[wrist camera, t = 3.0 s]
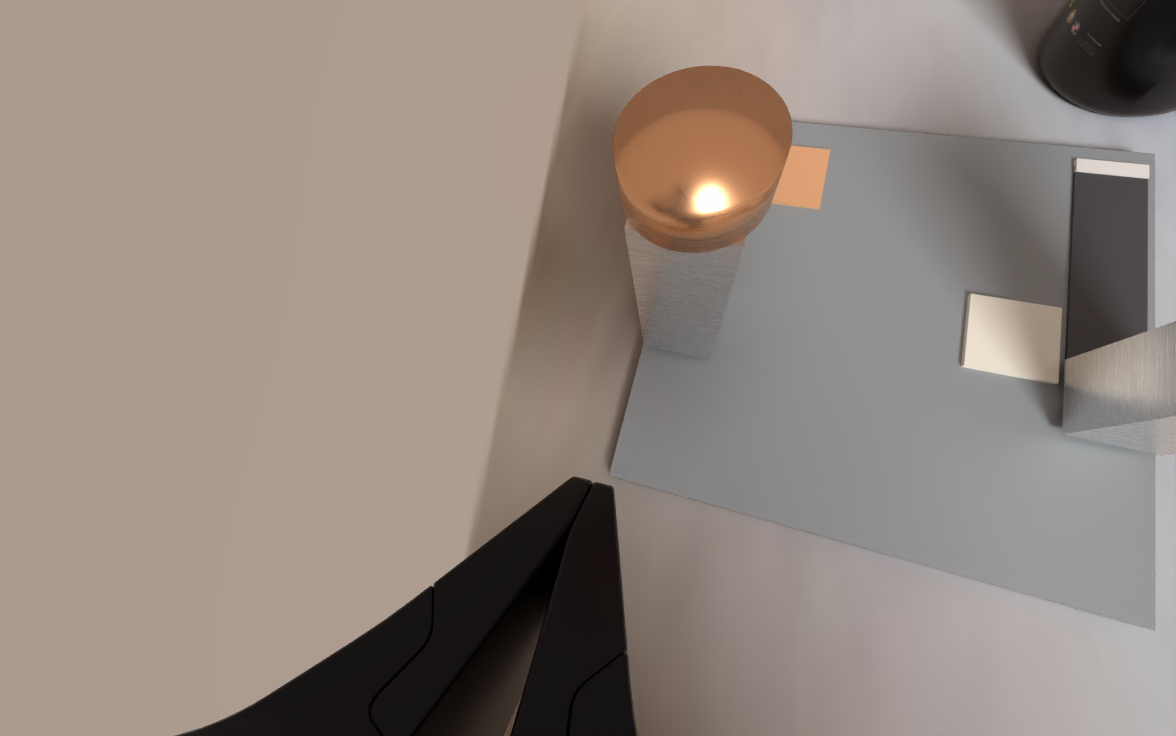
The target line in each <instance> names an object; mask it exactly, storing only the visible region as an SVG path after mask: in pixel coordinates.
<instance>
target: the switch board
mask: <svg viewBox="0 0 1176 736" xmlns="http://www.w3.org/2000/svg"><path fill="white" fill-rule="evenodd" d="M792 131H793V136H792V144H791V148H790V151H789V155H788V157H787V160H786V163H785V166H784V169H783V172H782V175H781V178H780V180H779V183H778V186H777V189H776V192H775V195H774V198H773V201H772V203H771V206H770V208H769V210H768V212H767V214H766V215H765V217H764V218H763V220H762V221H761V222H760V224H759V225H758V226H757V227H756V228H755V229H754V230H753V231H752V232H750V233H749V234H748V235H747V236H746V240H745V245H744V248H743V252H742V255H741V259H740V262H739V265H738V269H737V272H736V275H735V279H734V282H733V285H732V289H731V292H730V295H729V299H728V302H727V306H726V309H725V312H724V316H723V319H722V322H721V326H720V329H719V332H718V336H717V339H716V343H715V346H714V349H713V353H712V356H711V359H710V360H708V359H704V358H699V357H694V356H690V355H685V354H680V353H675V352H671V351H666V350H661V349H656V348H652V347H647V346H644V343H643V347H642V350H641V354H640V358H639V362H638V366H637V370H636V373H635V377H634V381H633V385H632V389H631V392H630V396H629V400H628V404H627V408H626V412H625V415H624V419H623V423H622V427H621V431H620V434H619V438H618V442H617V446H616V450H615V454H614V457H613V461H612V465H611V469H610V473H609V476H612V477H616V478H619V479H623V480H626V481H630V482H633V483H637V484H640V485H644V486H647V487H651V488H654V489H658V490H661V491H665V492H668V493H672V494H675V495H679V496H682V497H686V498H689V499H693V500H697V501H700V502H704V503H707V504H711V505H714V506H718V507H721V508H725V509H728V510H732V511H735V512H739V513H742V514H746V515H749V516H753V517H756V518H760V519H763V520H767V521H770V522H774V523H777V524H781V525H784V526H788V527H791V528H795V529H799V530H802V531H806V532H809V533H813V534H816V535H820V536H823V537H827V538H830V539H834V540H837V541H841V542H844V543H848V544H851V545H855V546H858V547H862V548H865V549H869V550H872V551H876V552H879V553H883V554H886V555H890V556H894V557H897V558H901V559H904V560H908V561H911V562H915V563H918V564H922V565H925V566H929V567H932V568H936V569H939V570H943V571H946V572H950V573H953V574H957V575H960V576H964V577H967V578H971V579H974V580H978V581H981V582H985V583H988V584H992V585H996V586H999V587H1003V588H1006V589H1010V590H1013V591H1017V592H1020V593H1024V594H1027V595H1031V596H1034V597H1038V598H1041V599H1045V600H1048V601H1052V602H1055V603H1059V604H1062V605H1066V606H1069V607H1073V608H1076V609H1080V610H1083V611H1087V612H1090V613H1094V614H1098V615H1101V616H1105V617H1108V618H1112V619H1115V620H1119V621H1122V622H1126V623H1129V624H1133V625H1136V626H1140V627H1143V628H1147V629H1151V630H1154V631H1155V454H1152V453H1147V452H1142V451H1137V450H1133V449H1128V448H1123V447H1119V446H1114V445H1109V444H1104V443H1100V442H1095V441H1090V440H1085V439H1081V438H1076V437H1071V436H1067V435H1062V413H1063V391H1064V368H1065V360H1066V359H1069V358H1072V357H1075V356H1077V355H1080V354H1083V353H1086V352H1089V351H1092V350H1095V349H1098V348H1100V347H1103V346H1106V345H1109V344H1112V343H1115V342H1118V341H1121V340H1124V339H1126V338H1129V337H1132V336H1135V335H1138V334H1141V333H1144V332H1147V331H1150V330H1152V329H1155V154H1150V153H1139V152H1128V151H1117V150H1105V149H1094V148H1083V147H1071V146H1060V145H1049V144H1038V143H1026V142H1015V141H1004V140H993V139H981V138H970V137H959V136H948V135H936V134H925V133H914V132H902V131H891V130H880V129H869V128H857V127H846V126H835V125H824V124H812V123H801V122H792Z"/></svg>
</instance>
